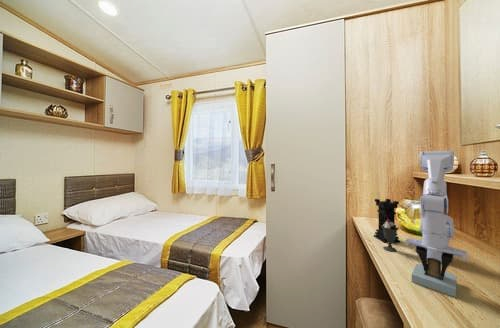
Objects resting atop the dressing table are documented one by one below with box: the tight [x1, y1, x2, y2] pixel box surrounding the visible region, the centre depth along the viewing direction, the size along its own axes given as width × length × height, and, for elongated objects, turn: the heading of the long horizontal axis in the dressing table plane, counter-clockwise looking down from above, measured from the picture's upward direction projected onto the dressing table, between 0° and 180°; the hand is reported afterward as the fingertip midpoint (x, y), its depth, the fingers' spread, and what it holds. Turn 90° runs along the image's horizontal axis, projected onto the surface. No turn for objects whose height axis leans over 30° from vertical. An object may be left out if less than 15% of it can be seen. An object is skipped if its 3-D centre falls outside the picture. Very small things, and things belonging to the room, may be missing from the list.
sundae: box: [381, 215, 400, 253], centre depth 87 cm, size 7×7×15 cm
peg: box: [427, 258, 442, 280], centre depth 64 cm, size 3×3×7 cm
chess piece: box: [373, 198, 401, 244], centre depth 98 cm, size 8×8×20 cm
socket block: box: [411, 263, 458, 298], centre depth 63 cm, size 10×10×2 cm
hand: (434, 272), depth 63 cm, fingers open, 3 cm apart
